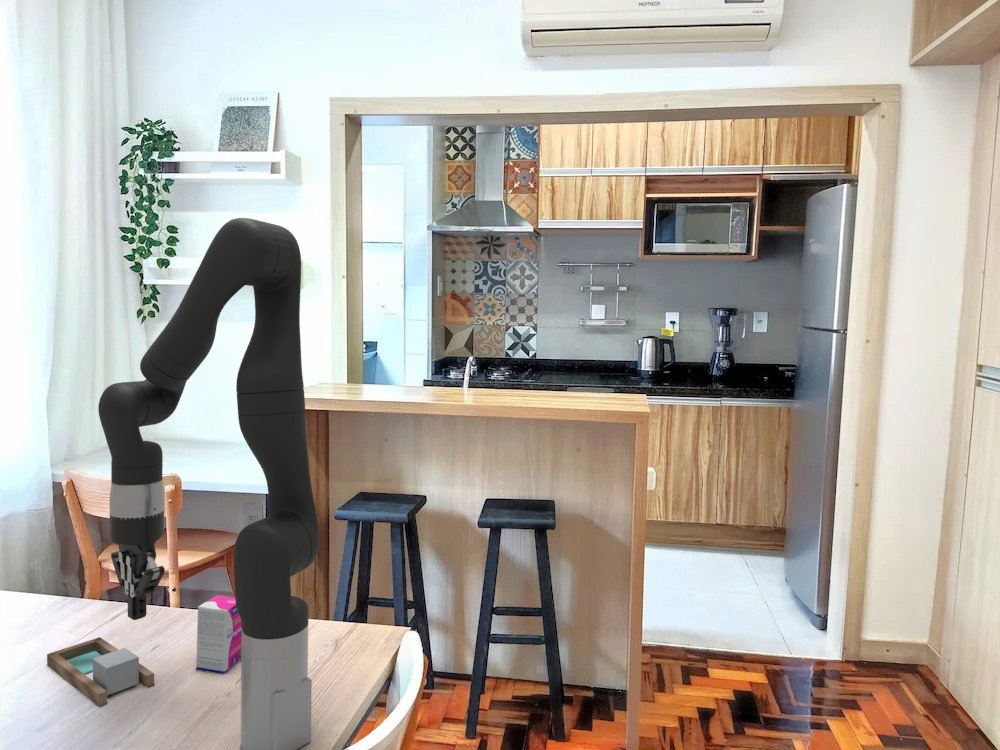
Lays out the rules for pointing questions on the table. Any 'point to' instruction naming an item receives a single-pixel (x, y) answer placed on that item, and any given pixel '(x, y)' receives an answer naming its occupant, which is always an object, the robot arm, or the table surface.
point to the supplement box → (218, 635)
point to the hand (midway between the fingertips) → (137, 617)
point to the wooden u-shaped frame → (88, 668)
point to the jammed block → (116, 670)
